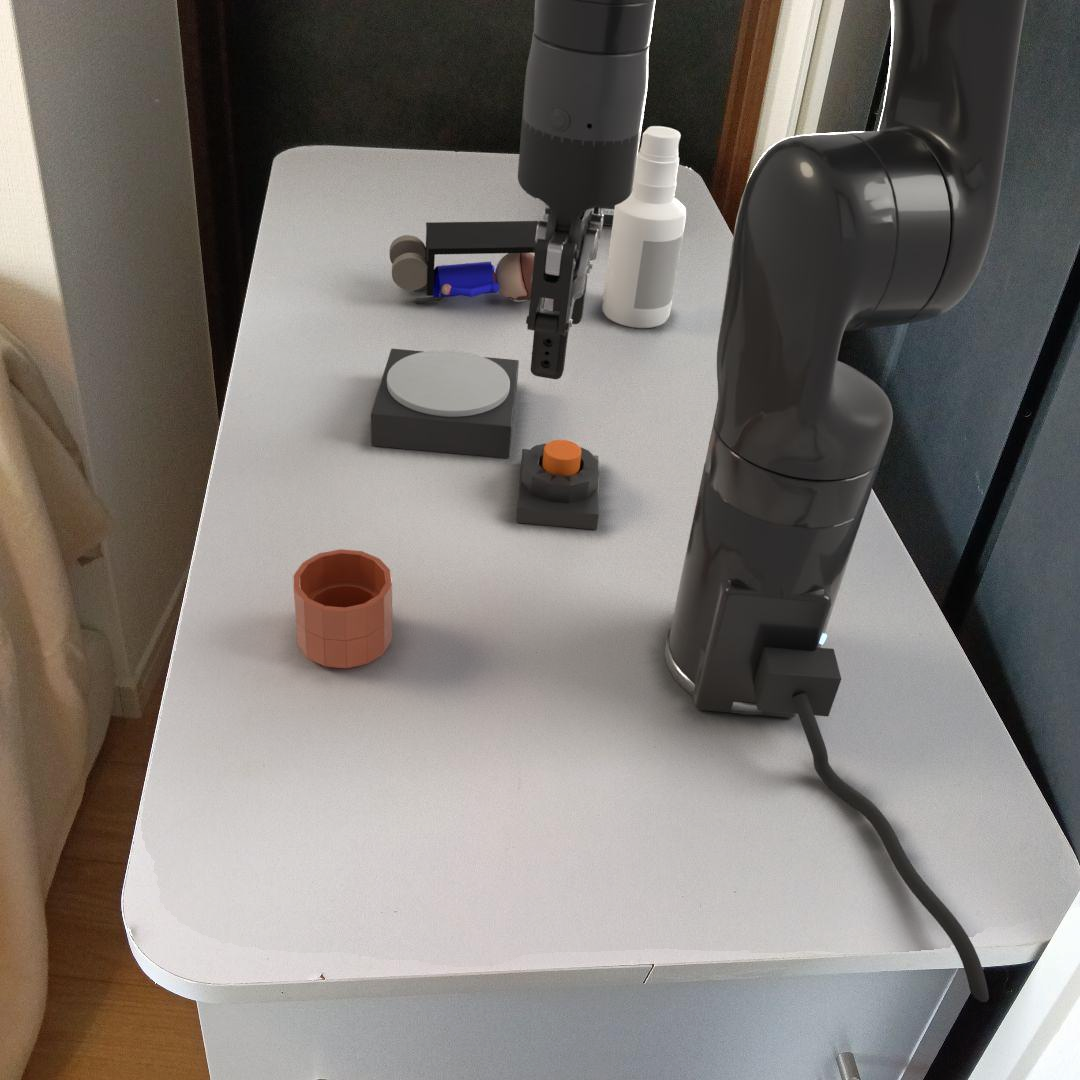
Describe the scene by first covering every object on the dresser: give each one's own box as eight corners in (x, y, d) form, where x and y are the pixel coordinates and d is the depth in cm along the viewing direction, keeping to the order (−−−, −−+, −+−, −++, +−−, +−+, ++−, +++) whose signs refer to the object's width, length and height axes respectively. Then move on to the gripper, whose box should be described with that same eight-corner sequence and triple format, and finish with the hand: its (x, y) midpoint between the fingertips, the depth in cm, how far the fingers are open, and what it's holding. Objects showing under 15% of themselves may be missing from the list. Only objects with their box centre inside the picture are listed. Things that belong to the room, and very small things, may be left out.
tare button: (579, 478, 81) (581, 461, 80) (541, 475, 81) (543, 457, 80) (579, 458, 83) (581, 441, 82) (543, 455, 83) (544, 437, 82)
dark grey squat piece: (597, 530, 80) (601, 496, 78) (515, 522, 80) (518, 489, 78) (596, 470, 87) (601, 438, 85) (521, 463, 86) (524, 431, 85)
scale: (509, 458, 87) (512, 419, 85) (370, 446, 87) (370, 407, 84) (516, 390, 96) (519, 353, 93) (391, 378, 95) (391, 341, 93)
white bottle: (665, 334, 107) (696, 148, 96) (596, 322, 107) (619, 137, 96) (672, 305, 112) (702, 126, 101) (607, 294, 113) (630, 116, 102)
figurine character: (396, 325, 106) (549, 311, 108) (387, 251, 102) (546, 238, 103) (394, 295, 112) (539, 282, 113) (386, 224, 107) (537, 211, 108)
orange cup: (385, 676, 66) (384, 615, 63) (287, 668, 66) (282, 606, 63) (398, 614, 71) (398, 553, 68) (307, 606, 71) (303, 545, 68)
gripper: (628, 162, 62) (594, 406, 72) (653, 92, 73) (621, 312, 83) (499, 142, 63) (484, 386, 73) (544, 76, 74) (524, 296, 84)
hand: (557, 346), depth 78 cm, fingers open, 8 cm apart
